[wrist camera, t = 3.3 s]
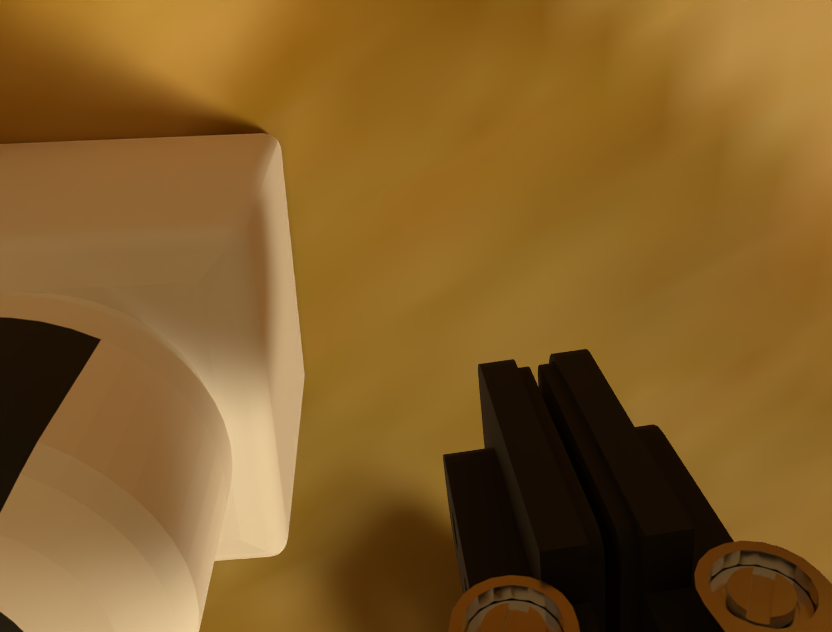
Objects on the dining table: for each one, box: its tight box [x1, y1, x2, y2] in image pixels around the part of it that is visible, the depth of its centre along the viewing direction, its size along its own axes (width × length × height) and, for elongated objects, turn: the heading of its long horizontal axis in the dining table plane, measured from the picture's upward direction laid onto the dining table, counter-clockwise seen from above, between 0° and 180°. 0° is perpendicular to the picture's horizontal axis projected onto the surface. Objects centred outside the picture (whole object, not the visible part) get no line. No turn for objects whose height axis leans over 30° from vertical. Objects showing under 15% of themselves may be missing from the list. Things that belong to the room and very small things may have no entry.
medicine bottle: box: [0, 133, 305, 632], centre depth 14 cm, size 7×7×12 cm
